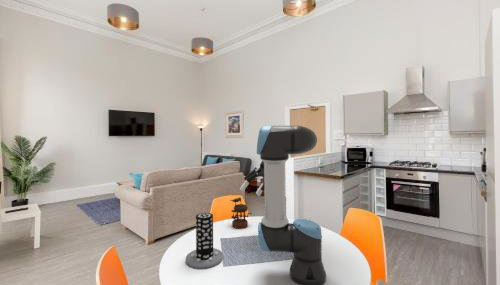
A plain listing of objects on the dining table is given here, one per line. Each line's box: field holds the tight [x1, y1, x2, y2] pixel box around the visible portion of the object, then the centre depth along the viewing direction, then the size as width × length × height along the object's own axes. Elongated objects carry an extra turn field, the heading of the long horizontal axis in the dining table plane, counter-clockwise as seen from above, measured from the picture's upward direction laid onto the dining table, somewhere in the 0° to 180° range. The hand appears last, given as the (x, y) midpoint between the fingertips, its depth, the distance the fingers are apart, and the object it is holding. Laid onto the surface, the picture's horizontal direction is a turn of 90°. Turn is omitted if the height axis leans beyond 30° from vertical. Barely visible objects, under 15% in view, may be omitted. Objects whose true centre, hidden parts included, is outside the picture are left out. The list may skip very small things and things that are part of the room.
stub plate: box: [185, 247, 224, 270], centre depth 117 cm, size 18×18×3 cm
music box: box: [229, 197, 253, 230], centre depth 162 cm, size 15×11×20 cm
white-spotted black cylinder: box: [195, 212, 214, 260], centre depth 117 cm, size 8×8×20 cm
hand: (249, 192), depth 130 cm, fingers open, 13 cm apart
